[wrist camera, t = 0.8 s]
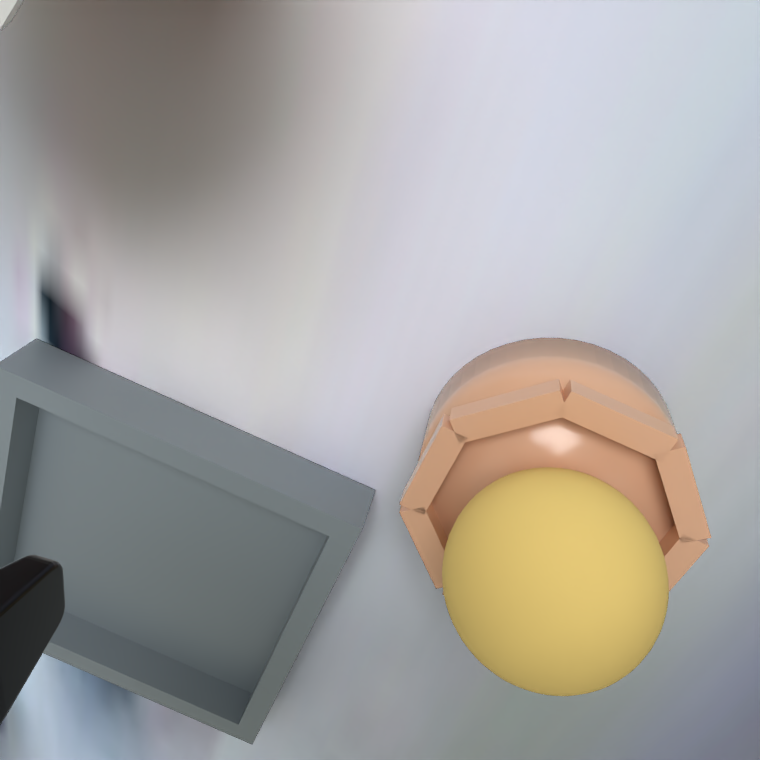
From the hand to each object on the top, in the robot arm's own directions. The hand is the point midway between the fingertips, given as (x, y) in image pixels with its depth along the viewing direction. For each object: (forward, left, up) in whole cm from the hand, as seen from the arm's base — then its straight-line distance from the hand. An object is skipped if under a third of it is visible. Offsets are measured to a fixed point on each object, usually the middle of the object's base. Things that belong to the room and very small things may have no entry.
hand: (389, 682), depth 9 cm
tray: (+6, +13, -12) cm, 19 cm away
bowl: (-4, +3, -12) cm, 13 cm away
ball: (-4, +3, -9) cm, 10 cm away
